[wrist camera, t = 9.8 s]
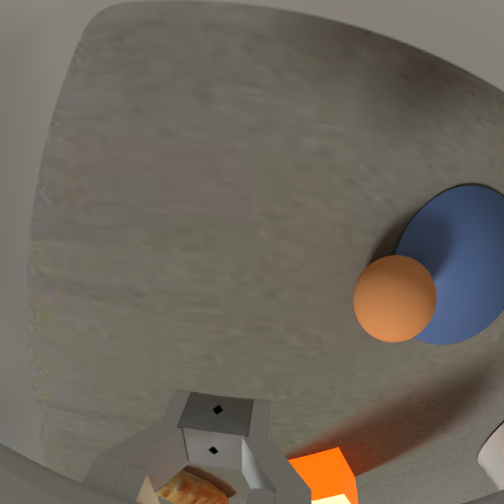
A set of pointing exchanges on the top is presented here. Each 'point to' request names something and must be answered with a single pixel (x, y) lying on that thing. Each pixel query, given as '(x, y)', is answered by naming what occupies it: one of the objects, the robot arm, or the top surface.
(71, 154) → the top surface
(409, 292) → the ball
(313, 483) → the orange juice
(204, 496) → the pastry
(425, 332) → the blue flat disc
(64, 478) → the robot arm
